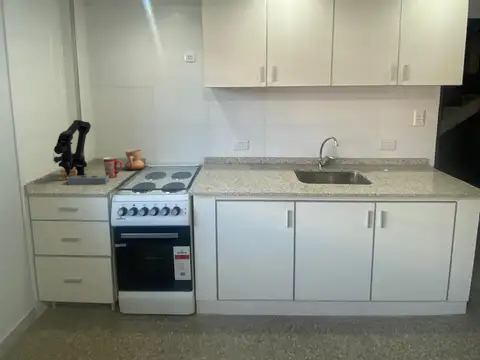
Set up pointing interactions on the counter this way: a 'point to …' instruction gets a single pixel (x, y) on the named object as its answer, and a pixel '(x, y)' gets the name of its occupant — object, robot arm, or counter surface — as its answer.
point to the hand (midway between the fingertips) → (68, 174)
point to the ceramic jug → (134, 160)
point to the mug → (111, 166)
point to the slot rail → (88, 180)
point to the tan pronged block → (63, 174)
